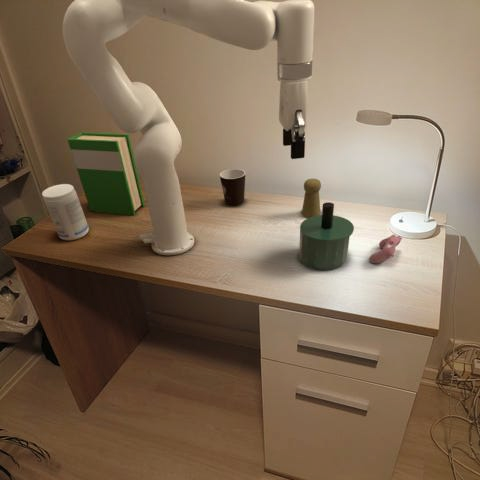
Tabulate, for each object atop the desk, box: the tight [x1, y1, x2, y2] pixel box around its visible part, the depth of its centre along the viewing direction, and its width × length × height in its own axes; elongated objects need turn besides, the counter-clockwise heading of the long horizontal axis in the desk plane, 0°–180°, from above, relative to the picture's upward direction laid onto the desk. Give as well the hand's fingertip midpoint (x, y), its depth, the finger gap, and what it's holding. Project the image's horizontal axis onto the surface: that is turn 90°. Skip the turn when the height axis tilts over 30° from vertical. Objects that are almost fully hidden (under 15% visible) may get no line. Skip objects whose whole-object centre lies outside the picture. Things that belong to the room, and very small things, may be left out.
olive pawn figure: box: [301, 178, 322, 219], centre depth 129 cm, size 6×6×11 cm
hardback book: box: [67, 131, 146, 216], centre depth 137 cm, size 18×7×24 cm, turn 71°
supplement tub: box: [41, 183, 90, 241], centre depth 128 cm, size 10×10×15 cm
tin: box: [298, 230, 351, 271], centre depth 110 cm, size 13×13×8 cm
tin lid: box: [299, 201, 355, 242], centre depth 105 cm, size 14×14×7 cm
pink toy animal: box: [368, 233, 403, 264], centre depth 109 cm, size 10×5×7 cm, turn 148°
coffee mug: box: [219, 168, 246, 207], centre depth 141 cm, size 12×9×10 cm
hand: (293, 151), depth 101 cm, fingers open, 9 cm apart
